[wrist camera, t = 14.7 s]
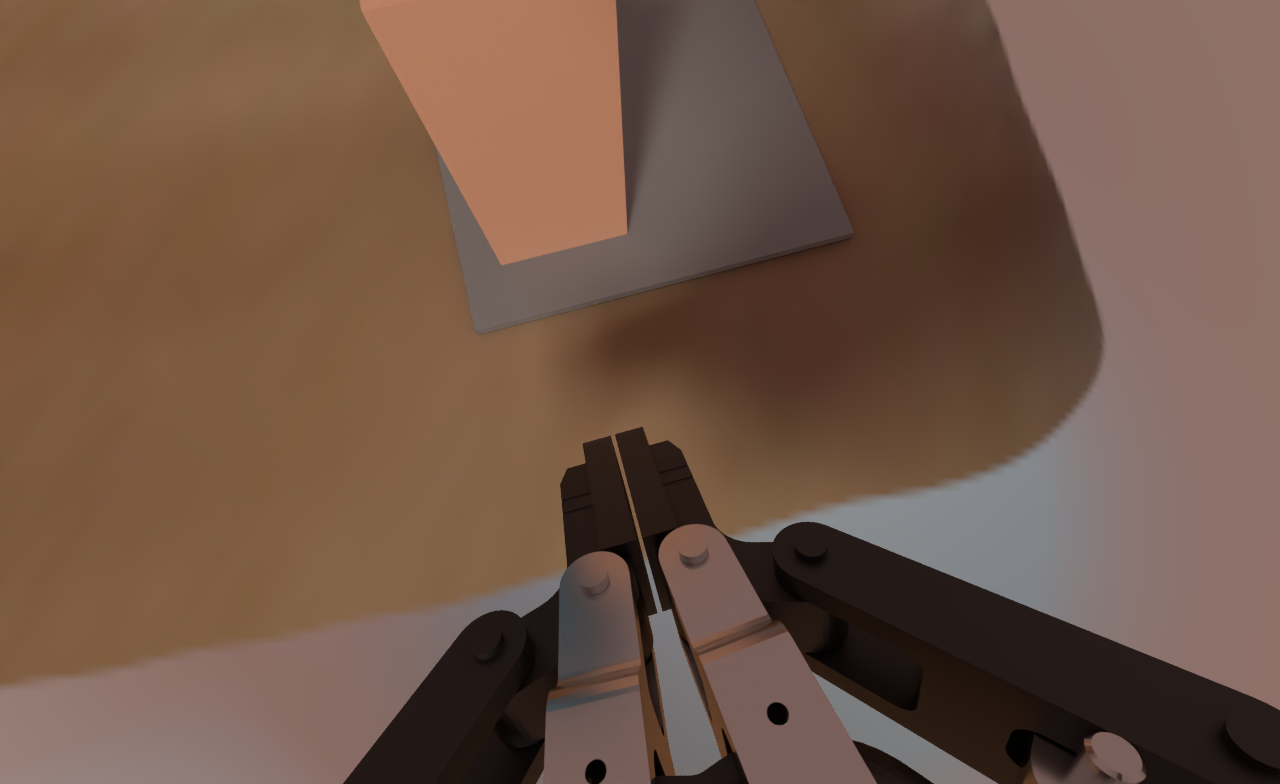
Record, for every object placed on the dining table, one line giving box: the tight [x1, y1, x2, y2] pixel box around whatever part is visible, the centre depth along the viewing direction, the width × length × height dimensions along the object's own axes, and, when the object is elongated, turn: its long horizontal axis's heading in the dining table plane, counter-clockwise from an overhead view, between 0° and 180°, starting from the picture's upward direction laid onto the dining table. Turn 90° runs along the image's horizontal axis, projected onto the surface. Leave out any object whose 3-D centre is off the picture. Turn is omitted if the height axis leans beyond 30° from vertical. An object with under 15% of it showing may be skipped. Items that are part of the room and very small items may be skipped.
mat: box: [436, 0, 855, 335], centre depth 22 cm, size 23×15×1 cm, turn 16°
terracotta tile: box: [360, 0, 627, 265], centre depth 15 cm, size 1×5×10 cm, turn 105°
